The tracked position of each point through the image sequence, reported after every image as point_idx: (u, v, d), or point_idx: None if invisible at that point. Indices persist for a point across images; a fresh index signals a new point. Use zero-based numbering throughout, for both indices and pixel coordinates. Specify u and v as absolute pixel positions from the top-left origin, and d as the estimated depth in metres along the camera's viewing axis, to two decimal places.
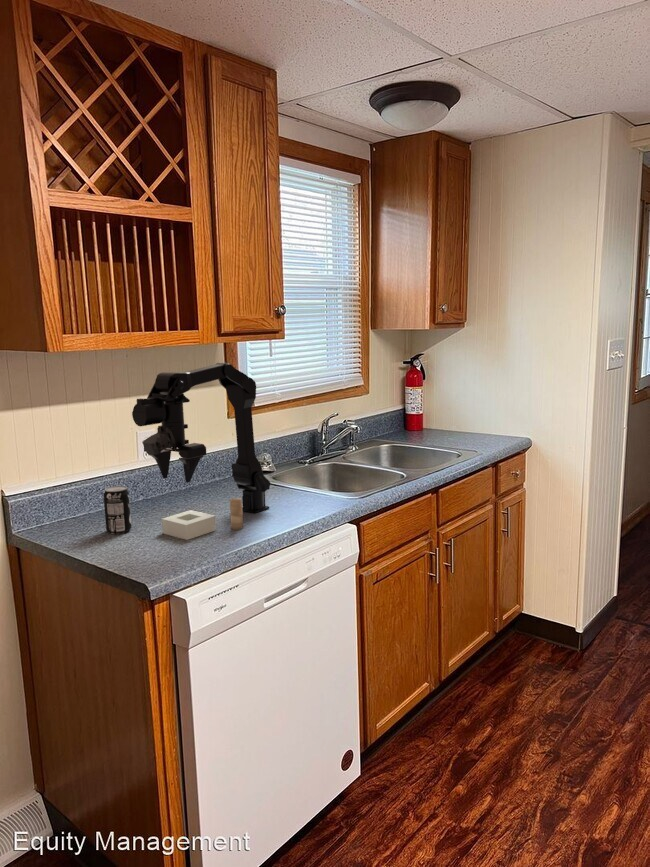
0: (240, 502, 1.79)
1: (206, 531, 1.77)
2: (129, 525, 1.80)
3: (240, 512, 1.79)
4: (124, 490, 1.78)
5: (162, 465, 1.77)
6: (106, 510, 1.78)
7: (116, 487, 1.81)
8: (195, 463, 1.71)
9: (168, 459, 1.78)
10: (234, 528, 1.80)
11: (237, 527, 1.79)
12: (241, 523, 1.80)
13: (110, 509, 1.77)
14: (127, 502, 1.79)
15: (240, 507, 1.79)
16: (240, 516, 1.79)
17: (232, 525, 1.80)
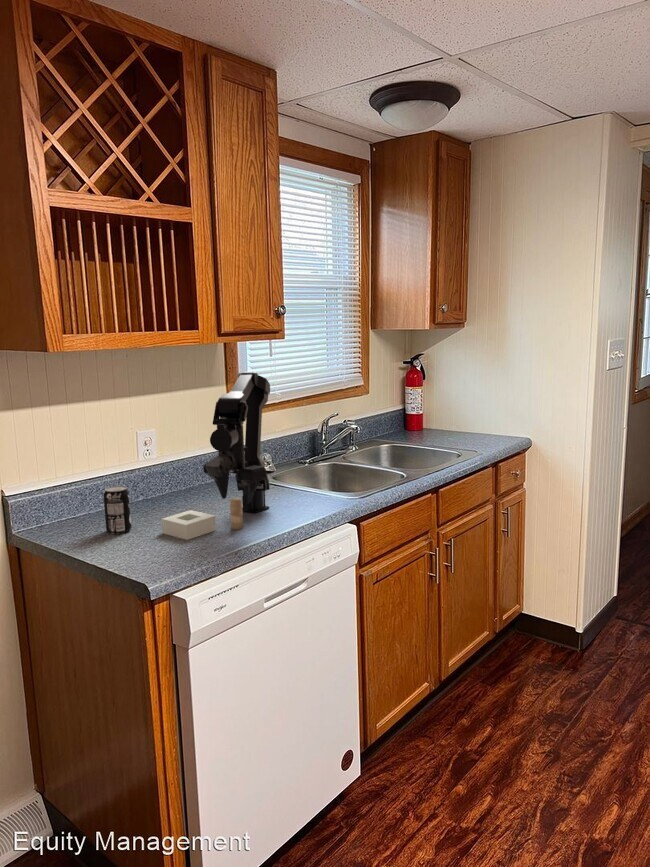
0: (240, 502, 1.79)
1: (206, 531, 1.77)
2: (129, 525, 1.80)
3: (240, 512, 1.79)
4: (124, 490, 1.78)
5: (222, 486, 1.82)
6: (106, 510, 1.78)
7: (116, 487, 1.81)
8: (255, 485, 1.76)
9: (227, 480, 1.84)
10: (234, 528, 1.80)
11: (237, 527, 1.79)
12: (241, 523, 1.80)
13: (110, 509, 1.77)
14: (127, 502, 1.79)
15: (240, 507, 1.79)
16: (240, 516, 1.79)
17: (232, 525, 1.80)
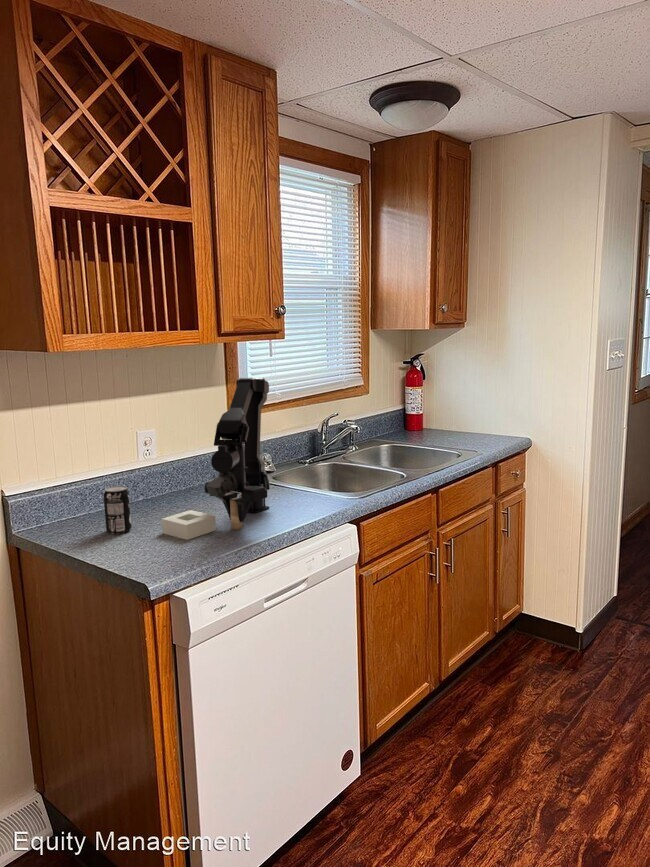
0: None
1: (206, 531, 1.77)
2: (129, 525, 1.80)
3: None
4: (124, 490, 1.78)
5: None
6: (106, 510, 1.78)
7: (116, 487, 1.81)
8: (248, 503, 1.79)
9: None
10: (234, 528, 1.80)
11: (237, 527, 1.79)
12: (241, 523, 1.80)
13: (110, 509, 1.77)
14: (127, 502, 1.79)
15: None
16: None
17: (232, 525, 1.80)
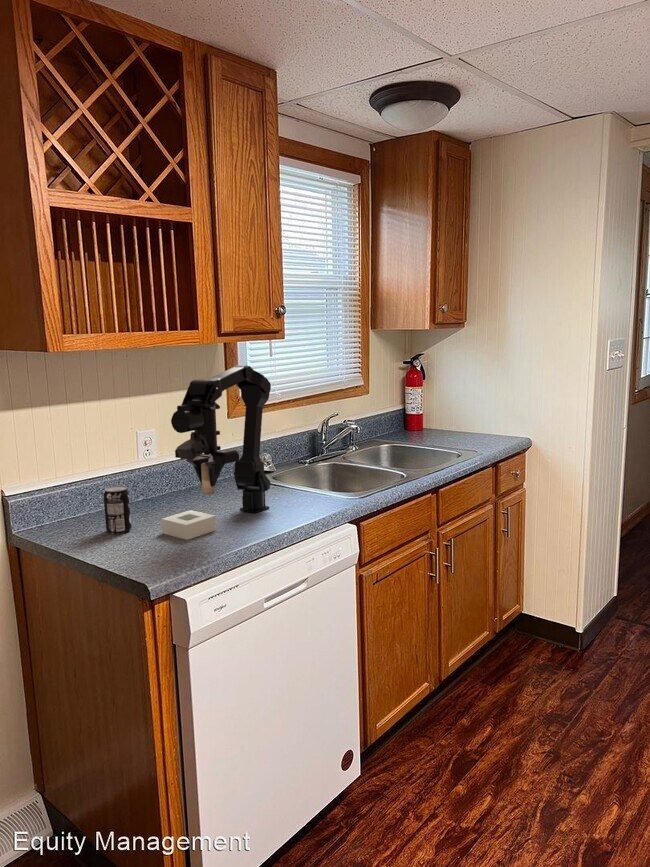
0: None
1: (206, 531, 1.77)
2: (129, 525, 1.80)
3: None
4: (124, 490, 1.78)
5: None
6: (106, 510, 1.78)
7: (116, 487, 1.81)
8: (220, 468, 1.76)
9: None
10: (205, 493, 1.76)
11: (208, 492, 1.76)
12: (212, 488, 1.77)
13: (110, 509, 1.77)
14: (127, 502, 1.79)
15: None
16: None
17: (203, 490, 1.76)
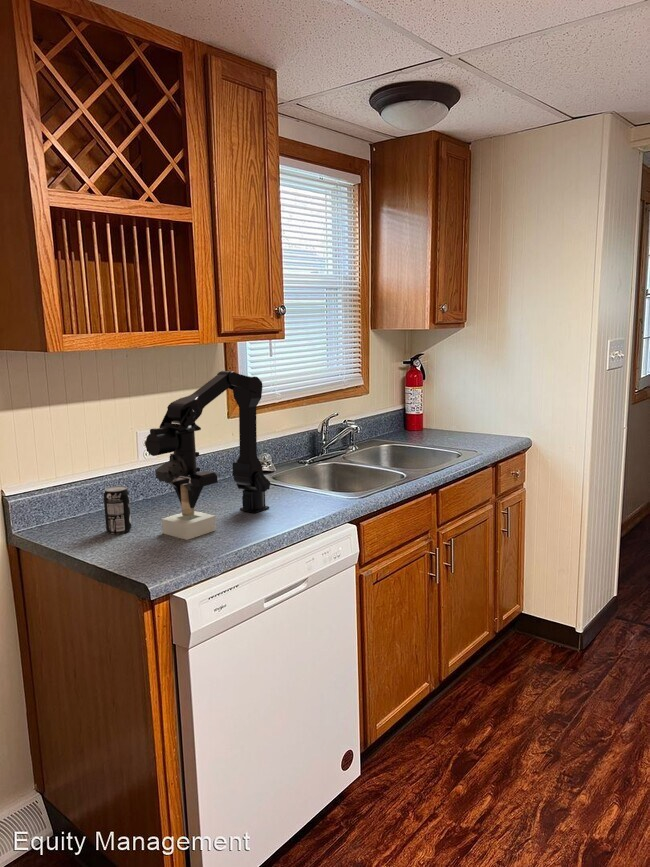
0: None
1: (206, 531, 1.77)
2: (129, 525, 1.80)
3: None
4: (124, 490, 1.78)
5: None
6: (106, 510, 1.78)
7: (116, 487, 1.81)
8: (199, 489, 1.76)
9: None
10: (184, 514, 1.77)
11: (188, 513, 1.77)
12: (192, 509, 1.77)
13: (110, 509, 1.77)
14: (127, 502, 1.79)
15: None
16: None
17: (183, 511, 1.77)
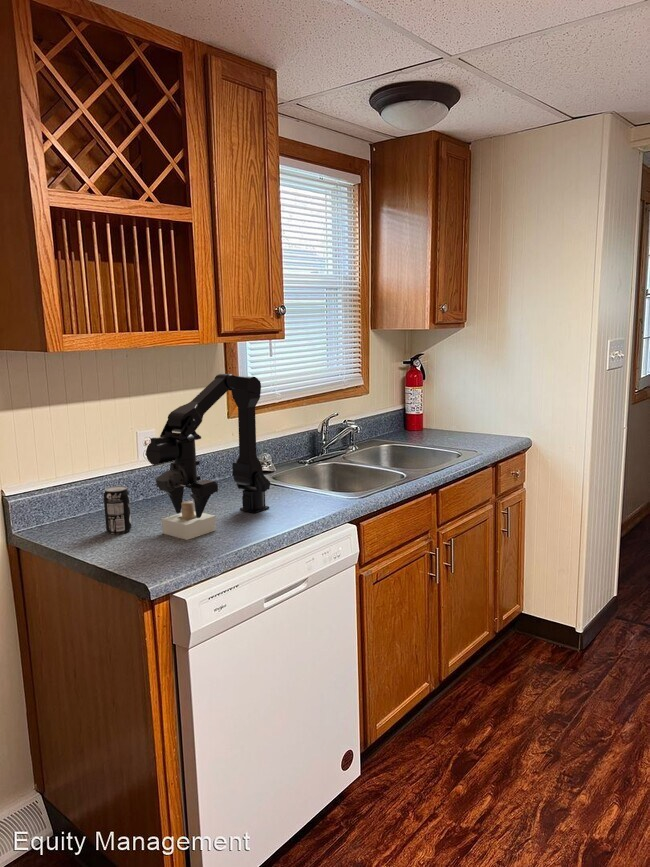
0: (192, 505, 1.77)
1: (206, 531, 1.77)
2: (129, 525, 1.80)
3: (192, 516, 1.77)
4: (124, 490, 1.78)
5: (176, 500, 1.80)
6: (106, 510, 1.78)
7: (116, 487, 1.81)
8: (206, 499, 1.75)
9: (181, 494, 1.82)
10: None
11: None
12: None
13: (110, 509, 1.77)
14: (127, 502, 1.79)
15: (192, 510, 1.77)
16: None
17: None
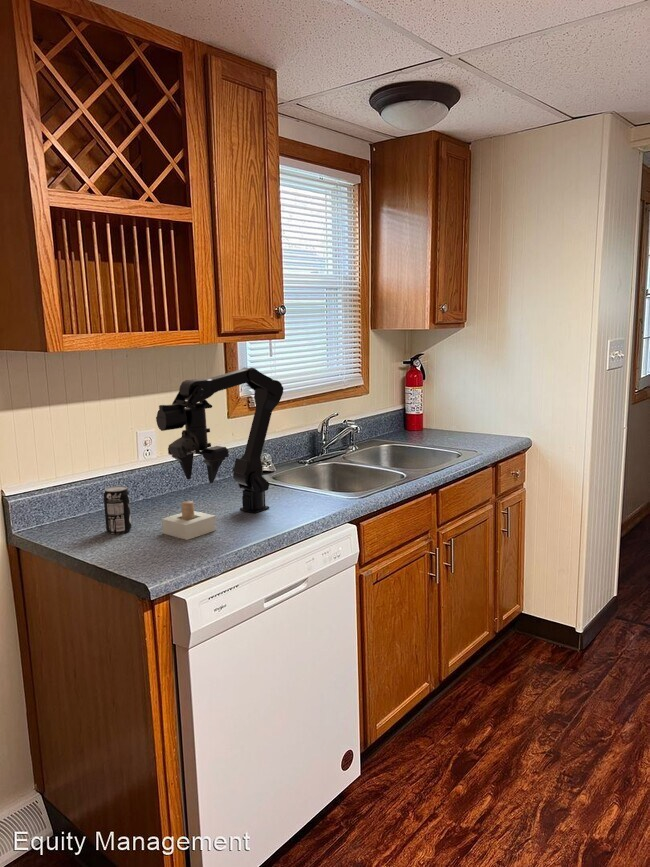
0: (192, 505, 1.77)
1: (206, 531, 1.77)
2: (129, 525, 1.80)
3: (192, 515, 1.77)
4: (124, 490, 1.78)
5: (186, 467, 1.88)
6: (106, 510, 1.78)
7: (116, 487, 1.81)
8: (218, 465, 1.82)
9: (191, 461, 1.90)
10: None
11: None
12: None
13: (110, 509, 1.77)
14: (127, 502, 1.79)
15: (192, 510, 1.77)
16: None
17: None
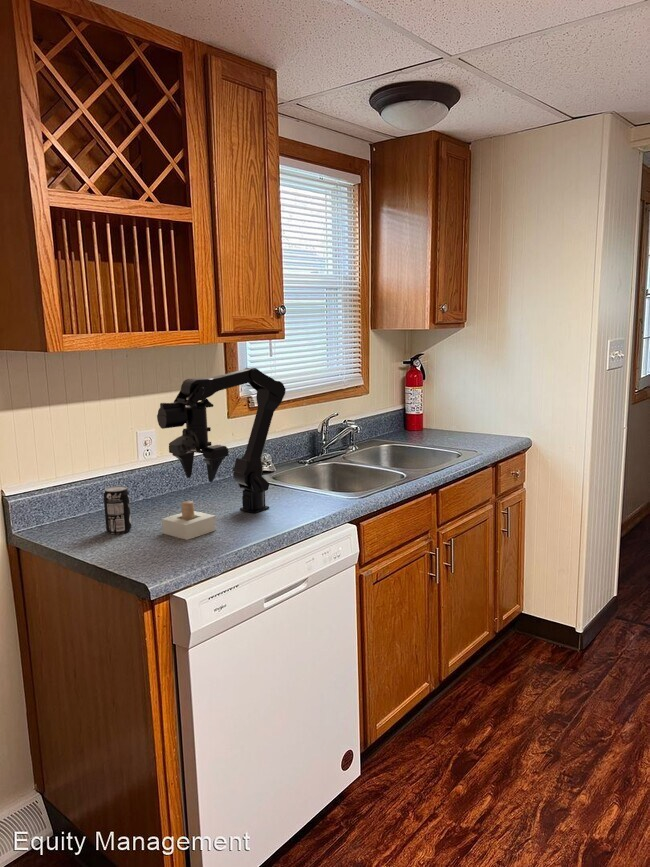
0: (192, 505, 1.77)
1: (206, 531, 1.77)
2: (129, 525, 1.80)
3: (192, 515, 1.77)
4: (124, 490, 1.78)
5: (186, 466, 1.88)
6: (106, 510, 1.78)
7: (116, 487, 1.81)
8: (218, 464, 1.83)
9: (192, 459, 1.90)
10: None
11: None
12: None
13: (110, 509, 1.77)
14: (127, 502, 1.79)
15: (192, 510, 1.77)
16: None
17: None
